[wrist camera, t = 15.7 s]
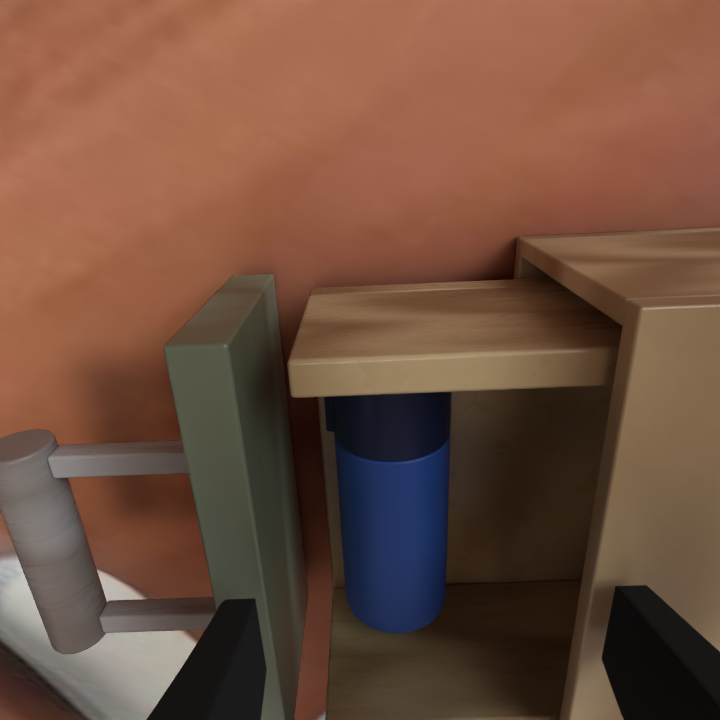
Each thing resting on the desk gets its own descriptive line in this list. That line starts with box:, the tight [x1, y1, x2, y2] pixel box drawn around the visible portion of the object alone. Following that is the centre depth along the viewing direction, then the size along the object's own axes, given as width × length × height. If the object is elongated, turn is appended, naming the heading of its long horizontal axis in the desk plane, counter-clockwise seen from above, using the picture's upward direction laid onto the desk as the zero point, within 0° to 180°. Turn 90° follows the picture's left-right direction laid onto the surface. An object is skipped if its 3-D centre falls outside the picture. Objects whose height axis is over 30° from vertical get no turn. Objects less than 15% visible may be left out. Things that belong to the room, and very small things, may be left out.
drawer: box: [0, 274, 623, 720], centre depth 14 cm, size 18×12×6 cm, turn 92°
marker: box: [324, 392, 452, 633], centre depth 14 cm, size 8×3×3 cm, turn 2°
